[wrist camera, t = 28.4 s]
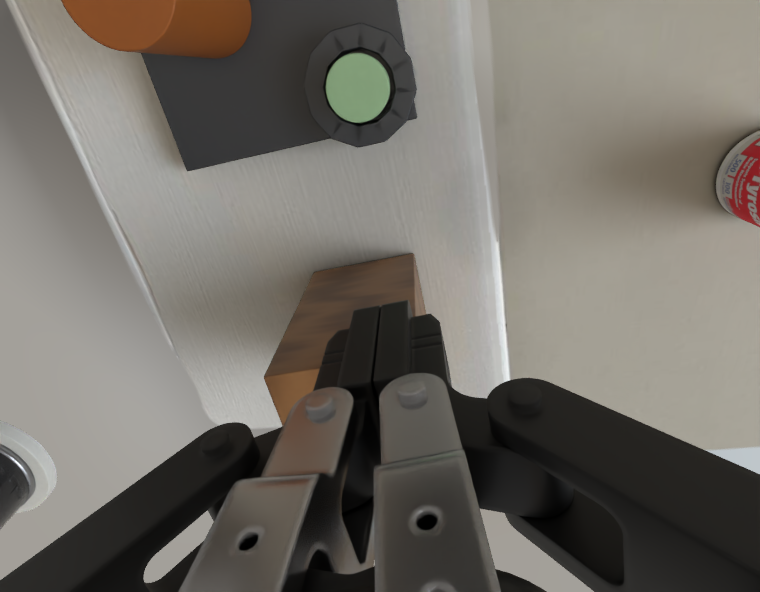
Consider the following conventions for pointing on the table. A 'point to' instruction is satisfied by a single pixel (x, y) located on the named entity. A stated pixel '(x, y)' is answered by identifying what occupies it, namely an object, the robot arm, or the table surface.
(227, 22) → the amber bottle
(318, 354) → the oak stand
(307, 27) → the scale
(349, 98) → the button
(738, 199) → the pill bottle
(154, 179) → the table surface
